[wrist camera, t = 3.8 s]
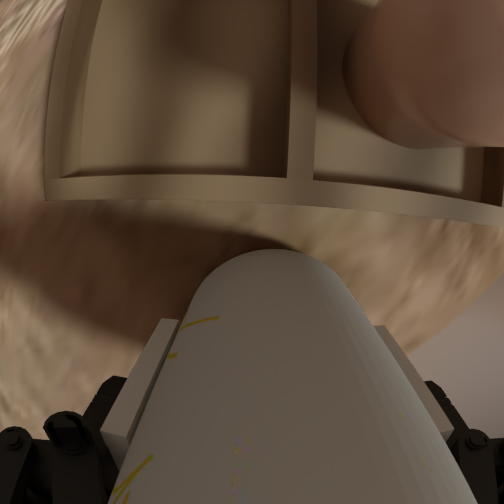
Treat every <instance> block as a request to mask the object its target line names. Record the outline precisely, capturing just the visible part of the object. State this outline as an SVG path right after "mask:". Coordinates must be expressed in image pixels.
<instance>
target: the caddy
mask: <svg viewBox="0 0 504 504" xmlns="http://www.w3.org/2000/svg"><path fill="white" fill-rule="evenodd" d="M377 2H378V0H69V1H68V4H67V7H66V11H65V15H64V18H63V22H62V26H61V30H60V34H59V39H58V43H57V48H56V53H55V58H54V64H53V70H52V76H51V83H50V90H49V98H48V107H47V118H46V131H45V153H44V192H45V201H56V200H102V199H154V200H203V201H231V202H253V203H272V204H289V205H304V206H318V207H331V208H343V209H355V210H366V211H376V212H386V213H396V214H405V215H414V216H423V217H431V218H439V219H447V220H454V221H462V222H469V223H476V224H483V225H489V226H496V227H502V228H504V147H463V148H439V149H410V148H406V147H402V146H400V145H397V144H395V143H393V142H391V141H389V140H387V139H385V138H384V137H382V136H381V135H380V134H378V133H377V132H376V131H375V130H374V129H372V128H371V127H370V126H369V125H368V124H367V123H366V121H365V120H364V119H363V118H362V117H361V115H360V114H359V113H358V111H357V110H356V108H355V106H354V105H353V103H352V101H351V99H350V97H349V95H348V92H347V89H346V86H345V82H344V77H343V67H342V66H343V56H344V51H345V48H346V46H347V43H348V42H349V40H350V39H351V37H352V36H353V34H354V33H355V31H356V30H357V29H358V27H359V26H360V25H361V23H362V22H363V20H364V19H365V18H366V16H367V15H368V14H369V12H370V11H371V10H372V8H373V7H374V6H375V4H376V3H377Z"/></svg>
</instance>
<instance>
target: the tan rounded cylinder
mask: <svg viewBox="0 0 504 504" xmlns="http://www.w3.org/2000/svg"><path fill="white" fill-rule="evenodd" d="M342 67H343V77H344V82H345V86H346V89H347V92H348V95H349V97H350V99H351V101H352V103H353V105H354V106H355V108H356V110H357V111H358V113H359V114H360V115H361V117H362V118H363V119H364V120H365V121H366V123H367V124H368V125H369V126H370V127H371V128H372V129H374V130H375V131H376V132H377V133H378V134H380V135H381V136H382V137H384V138H385V139H387V140H389V141H391V142H393V143H395V144H397V145H400V146H402V147H406V148H410V149H439V148H463V147H504V0H378V2H377V3H376V4H375V6H374V7H373V8H372V10H371V11H370V12H369V14H368V15H367V16H366V18H365V19H364V20H363V22H362V23H361V25H360V26H359V27H358V29H357V30H356V31H355V33H354V34H353V36H352V37H351V39H350V40H349V42H348V43H347V46H346V48H345V51H344V56H343V66H342Z"/></svg>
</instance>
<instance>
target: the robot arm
mask: <svg viewBox="0 0 504 504" xmlns="http://www.w3.org/2000/svg"><path fill="white" fill-rule="evenodd" d="M374 328H375V329H376V331H377V332H378V334H379V335H380V337H381V338H382V340H383V341H384V343H385V345H386V346H387V348H388V349H389V351H390V352H391V354H392V355H393V357H394V358H395V360H396V362H397V363H398V365H399V366H400V368H401V369H402V371H403V373H404V374H405V376H406V377H407V379H408V381H409V382H410V384H411V385H412V387H413V389H414V390H415V392H416V393H417V395H418V397H419V398H420V400H421V402H422V403H423V405H424V407H425V408H426V410H427V412H428V413H429V415H430V417H431V418H432V420H433V422H434V424H435V425H436V427H437V429H438V430H439V432H440V434H441V436H442V437H443V439H444V441H445V443H446V445H447V446H448V448H449V450H450V452H451V454H452V455H453V457H454V459H455V461H456V463H457V465H458V466H459V468H460V470H461V472H462V474H463V476H464V478H465V480H466V481H467V483H468V485H469V487H470V489H471V491H472V493H473V495H474V497H475V499H476V501H477V503H478V504H504V438H497V439H489V437H488V436H487V435H486V434H485V433H483V432H482V431H480V430H476V429H469V428H468V426H467V425H466V423H465V422H464V420H463V419H462V417H461V416H460V414H459V413H458V412H457V410H456V409H455V407H454V406H453V405H452V403H451V401H450V400H449V399H448V398H447V396H446V394H445V393H444V391H443V390H442V388H441V387H439V386H438V385H437V384H435V383H434V382H433V381H425V382H424V381H423V380H422V378H421V377H420V375H419V374H418V372H417V371H416V369H415V368H414V366H413V365H412V364H411V362H410V361H409V359H408V358H407V356H406V355H405V354H404V352H403V351H402V349H401V348H400V346H399V345H398V344H397V342H396V341H395V339H394V338H393V337H392V335H391V334H390V333H389V331H388V330H387V328H386V327H385V326H374ZM178 330H179V320H176V319H165V318H161V320H160V322H159V323H158V325H157V327H156V328H155V330H154V332H153V334H152V335H151V337H150V339H149V341H148V342H147V344H146V346H145V348H144V350H143V351H142V353H141V355H140V357H139V358H138V360H137V362H136V364H135V366H134V367H133V369H132V371H131V373H130V375H129V377H128V378H124V377H119V376H112V377H110V378H109V379H108V380H106V381H105V382H104V383H103V384H102V385H101V387H100V388H99V390H98V392H97V394H96V395H95V397H94V398H93V400H92V402H91V403H90V405H89V406H88V408H87V410H86V411H85V413H84V415H83V416H81V415H79V414H77V413H75V412H71V411H62V412H57V413H55V414H53V415H51V416H50V417H49V418H48V419H47V420H46V421H45V423H44V426H43V428H44V430H45V432H46V434H47V436H48V438H49V439H50V440H41V439H32V437H31V435H30V434H29V433H28V431H27V430H26V429H23V428H21V427H16V426H13V427H9V428H6V429H4V430H3V431H1V433H0V504H108V502H109V499H110V496H111V494H112V491H113V488H114V486H115V483H116V480H117V478H118V475H119V472H120V470H121V467H122V465H123V462H124V460H125V457H126V454H127V452H128V449H129V447H130V444H131V442H132V439H133V437H134V434H135V432H136V429H137V427H138V424H139V422H140V419H141V417H142V415H143V412H144V410H145V407H146V405H147V402H148V400H149V398H150V395H151V393H152V390H153V388H154V386H155V383H156V381H157V379H158V376H159V374H160V372H161V369H162V367H163V365H164V362H165V360H166V358H167V355H168V353H169V351H170V348H171V346H172V344H173V341H174V339H175V337H176V335H177V332H178Z"/></svg>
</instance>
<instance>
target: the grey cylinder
mask: <svg viewBox="0 0 504 504" xmlns="http://www.w3.org/2000/svg"><path fill="white" fill-rule="evenodd" d="M108 504H478V503H477V501H476V499H475V497H474V495H473V493H472V491H471V489H470V487H469V485H468V483H467V481H466V480H465V478H464V476H463V474H462V472H461V470H460V468H459V466H458V465H457V463H456V461H455V459H454V457H453V455H452V454H451V452H450V450H449V448H448V446H447V445H446V443H445V441H444V439H443V437H442V436H441V434H440V432H439V430H438V429H437V427H436V425H435V424H434V422H433V420H432V418H431V417H430V415H429V413H428V412H427V410H426V408H425V407H424V405H423V403H422V402H421V400H420V398H419V397H418V395H417V393H416V392H415V390H414V389H413V387H412V385H411V384H410V382H409V381H408V379H407V377H406V376H405V374H404V373H403V371H402V369H401V368H400V366H399V365H398V363H397V362H396V360H395V358H394V357H393V355H392V354H391V352H390V351H389V349H388V348H387V346H386V345H385V343H384V341H383V340H382V338H381V337H380V335H379V334H378V332H377V331H376V329H375V328H374V326H373V325H372V323H371V322H370V320H369V319H368V318H367V316H366V315H365V313H364V312H363V310H362V309H361V307H360V306H359V304H358V303H357V301H356V300H355V299H354V297H353V296H352V294H351V293H350V291H349V290H348V289H347V287H346V286H345V284H344V283H343V281H342V280H341V279H340V278H339V276H338V275H337V274H336V273H335V272H334V271H333V270H332V269H330V268H329V267H328V266H327V265H325V264H324V263H322V262H321V261H319V260H317V259H315V258H313V257H311V256H309V255H306V254H303V253H300V252H296V251H291V250H284V249H264V250H257V251H252V252H248V253H245V254H242V255H239V256H237V257H234V258H232V259H230V260H228V261H226V262H225V263H223V264H222V265H220V266H219V267H217V268H216V269H215V270H214V271H212V272H211V273H210V274H209V275H208V276H207V277H206V278H205V280H204V281H203V282H202V283H201V285H200V286H199V288H198V289H197V291H196V293H195V295H194V297H193V299H192V301H191V303H190V306H189V308H188V310H187V312H186V314H185V317H184V319H183V321H182V323H181V326H180V328H179V330H178V332H177V335H176V337H175V339H174V341H173V344H172V346H171V348H170V351H169V353H168V355H167V358H166V360H165V362H164V365H163V367H162V369H161V372H160V374H159V376H158V379H157V381H156V383H155V386H154V388H153V390H152V393H151V395H150V398H149V400H148V402H147V405H146V407H145V410H144V412H143V415H142V417H141V419H140V422H139V424H138V427H137V429H136V432H135V434H134V437H133V439H132V442H131V444H130V447H129V449H128V452H127V454H126V457H125V460H124V462H123V465H122V467H121V470H120V472H119V475H118V478H117V480H116V483H115V486H114V488H113V491H112V494H111V496H110V499H109V502H108Z"/></svg>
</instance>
